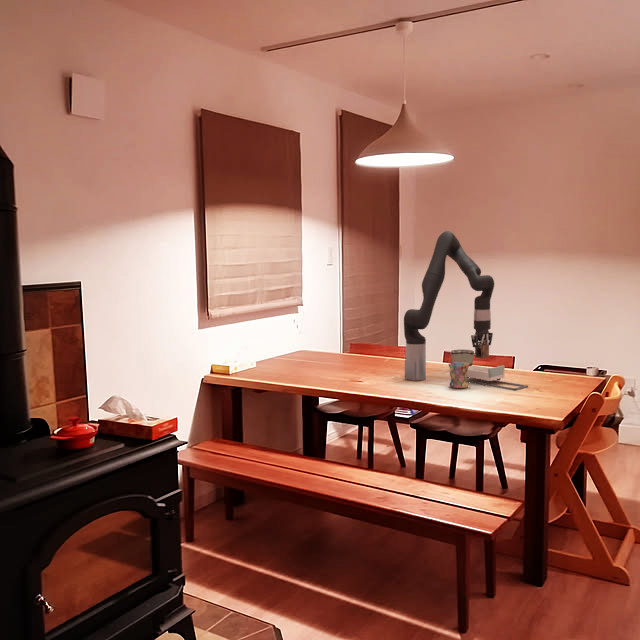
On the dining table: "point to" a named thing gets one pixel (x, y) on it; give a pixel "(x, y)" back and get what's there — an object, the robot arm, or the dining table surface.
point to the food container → (462, 356)
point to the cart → (486, 373)
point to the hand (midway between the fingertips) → (481, 355)
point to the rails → (501, 386)
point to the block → (483, 351)
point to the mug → (458, 374)
